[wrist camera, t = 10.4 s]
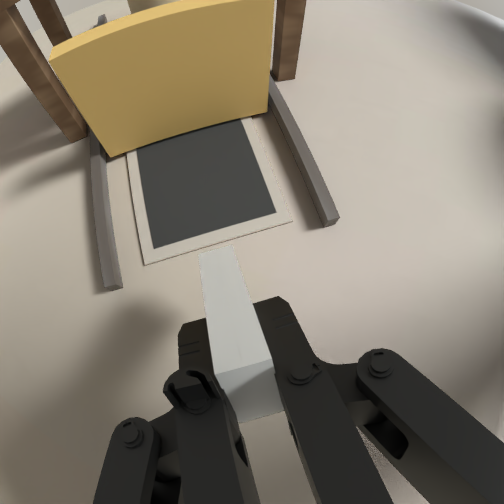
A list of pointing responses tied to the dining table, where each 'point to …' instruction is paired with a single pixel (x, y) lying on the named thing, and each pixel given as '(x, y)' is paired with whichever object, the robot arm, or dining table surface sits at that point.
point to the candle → (146, 4)
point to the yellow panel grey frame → (169, 70)
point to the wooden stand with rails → (75, 128)
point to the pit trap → (203, 189)
